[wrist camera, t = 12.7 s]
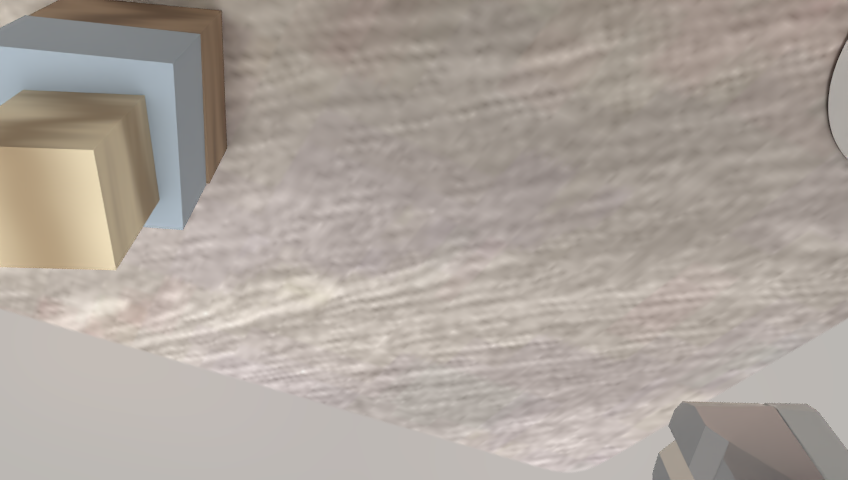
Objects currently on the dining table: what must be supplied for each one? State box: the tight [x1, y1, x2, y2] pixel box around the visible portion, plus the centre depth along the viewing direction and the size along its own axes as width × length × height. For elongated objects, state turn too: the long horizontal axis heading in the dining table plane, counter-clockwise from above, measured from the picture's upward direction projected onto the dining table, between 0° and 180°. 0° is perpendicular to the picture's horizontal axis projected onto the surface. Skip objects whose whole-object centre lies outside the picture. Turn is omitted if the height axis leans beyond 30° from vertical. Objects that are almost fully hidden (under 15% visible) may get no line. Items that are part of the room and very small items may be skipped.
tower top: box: [0, 15, 206, 230], centre depth 33 cm, size 8×8×5 cm
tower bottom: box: [29, 0, 227, 183], centre depth 37 cm, size 8×8×5 cm
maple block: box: [0, 90, 160, 270], centre depth 28 cm, size 5×5×6 cm
